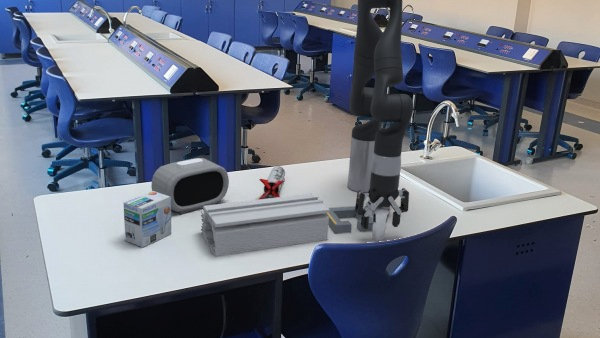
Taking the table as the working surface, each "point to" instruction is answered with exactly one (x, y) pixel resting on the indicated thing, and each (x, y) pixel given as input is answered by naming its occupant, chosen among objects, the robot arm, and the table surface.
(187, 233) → the table surface
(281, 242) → the aluminum extrusion profile
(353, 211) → the grey flat c-shaped piece
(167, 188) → the alarm clock
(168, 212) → the light bulb box
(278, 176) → the model rocket
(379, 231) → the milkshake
